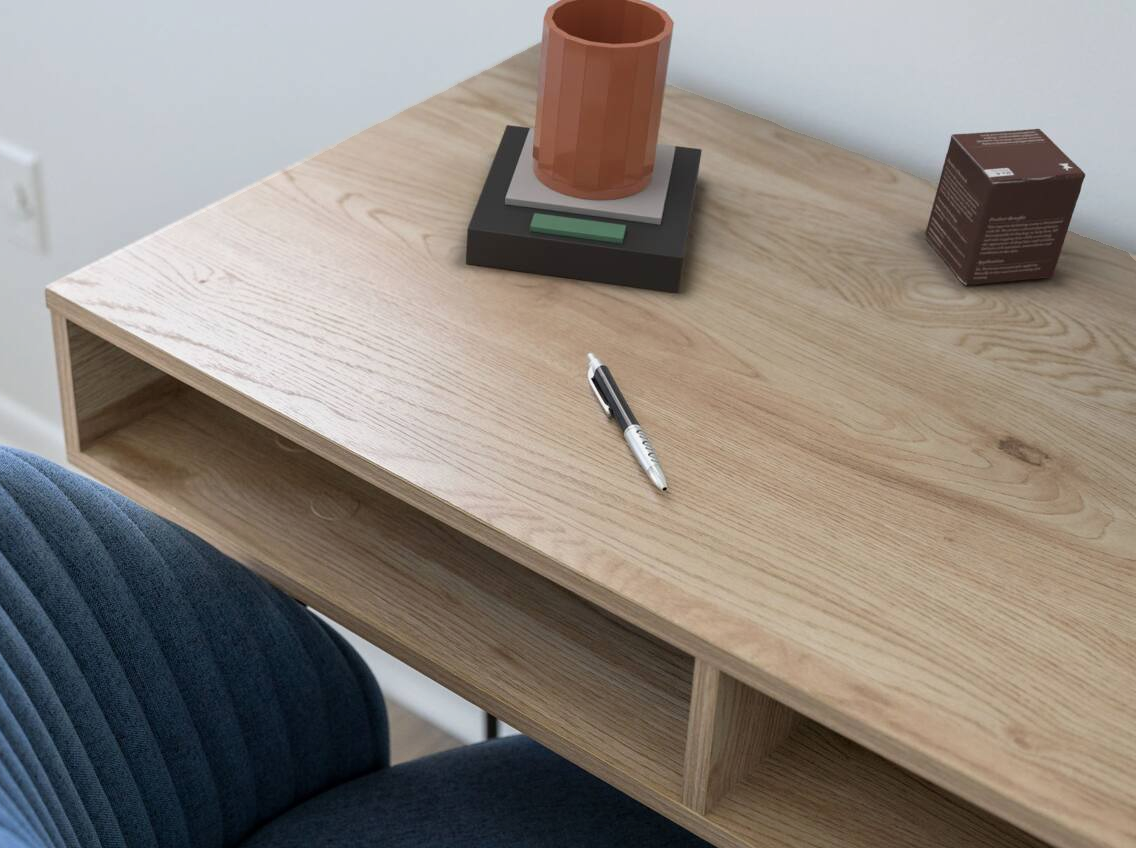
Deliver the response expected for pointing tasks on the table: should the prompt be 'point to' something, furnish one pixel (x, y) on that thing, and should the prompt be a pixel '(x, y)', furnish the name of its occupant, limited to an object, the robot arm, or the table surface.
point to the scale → (584, 221)
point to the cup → (600, 96)
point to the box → (1003, 206)
